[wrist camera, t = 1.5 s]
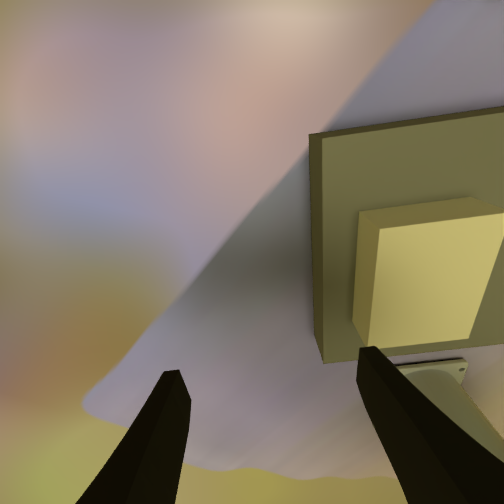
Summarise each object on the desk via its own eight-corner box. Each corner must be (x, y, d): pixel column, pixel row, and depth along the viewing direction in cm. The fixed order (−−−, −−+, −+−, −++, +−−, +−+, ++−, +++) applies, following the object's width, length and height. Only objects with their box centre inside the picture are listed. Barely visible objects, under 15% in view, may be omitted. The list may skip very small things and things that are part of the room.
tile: (440, 311, 18) (468, 338, 16) (352, 321, 18) (367, 350, 16) (470, 196, 14) (512, 211, 12) (359, 211, 14) (379, 229, 12)
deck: (479, 315, 22) (511, 342, 20) (314, 334, 23) (323, 363, 20) (556, 98, 15) (625, 95, 12) (308, 134, 15) (322, 138, 13)
